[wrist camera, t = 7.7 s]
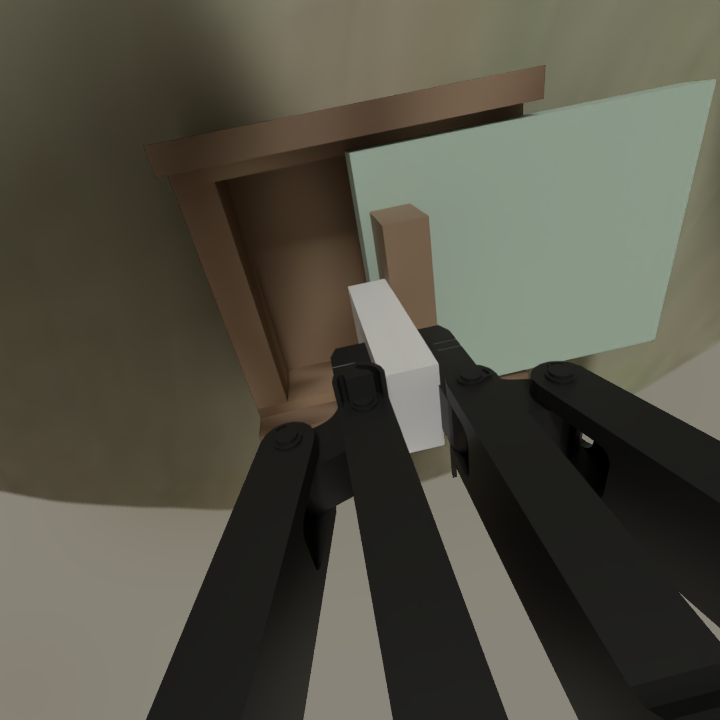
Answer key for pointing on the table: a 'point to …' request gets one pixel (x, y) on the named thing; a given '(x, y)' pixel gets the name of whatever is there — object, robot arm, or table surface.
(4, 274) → the table surface
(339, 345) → the box
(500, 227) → the cover plate
